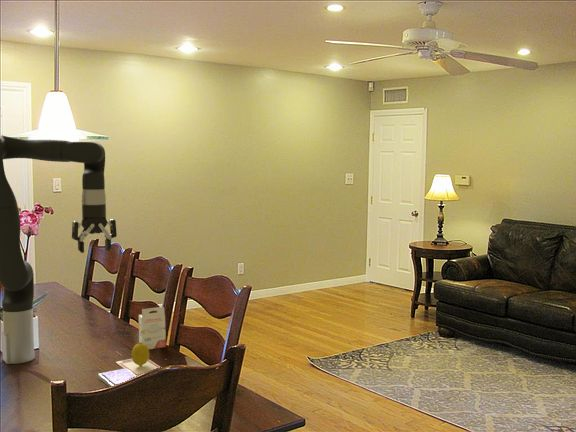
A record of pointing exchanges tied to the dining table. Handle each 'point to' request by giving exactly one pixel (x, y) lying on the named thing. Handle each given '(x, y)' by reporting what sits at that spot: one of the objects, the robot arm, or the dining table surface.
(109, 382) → the ink pad
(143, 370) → the marked sheet
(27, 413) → the dining table surface
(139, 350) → the lemon
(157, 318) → the ink cartridge box
